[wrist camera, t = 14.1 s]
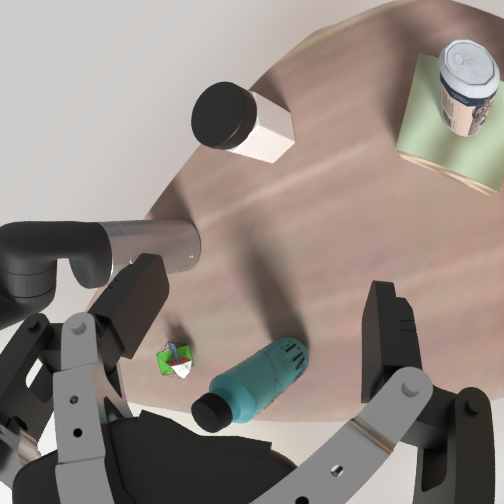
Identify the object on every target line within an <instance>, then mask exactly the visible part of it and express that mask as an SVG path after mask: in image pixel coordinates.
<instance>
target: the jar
mask: <svg viewBox="0 0 504 504" xmlns="http://www.w3.org/2000/svg"><path fill="white" fill-rule="evenodd" d="M191 119H192V120H191V125H192V130H193V133H194V135H195V137H196V139H197V140H198V141H199V142H200V143H201V144H203V145H205V146H208V147H210V148H214V149H216V148H217V149H221V150H227V151H230V152H233V153H237V154H240V155H244V156H248V157H251V158H255V159H259V160H262V161H266V162H269V163H274V162H275V161H276V160H277V159H278V158H279V157H280V156H281V155H282V154H283V153H284V152H285V151H287V150H288V149H289V148H290V147H291V146H292V145H293V144H294V143H295V137H294V131H293V124H292V118H291V113H290V112H288V111H286V110H285V109H283V108H281V107H280V106H278V105H276V104H275V103H273V102H271V101H270V100H268V99H266V98H265V97H263V96H261V95H259V94H258V93H256V92H253V91H247V90H245V89H243V88H241V87H239V86H238V85H236V84H234V83H231V82H219V83H216V84H214V85H212V86H210V87H209V88H207V89H206V90H205V91H204V92H203V93H202V94H201V95H200V97H199V98H198V100H197V102H196V104H195V106H194V108H193V112H192V118H191Z"/></svg>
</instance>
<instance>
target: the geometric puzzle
mask: <svg viewBox="0 0 504 504" xmlns="http://www.w3.org/2000/svg"><path fill="white" fill-rule="evenodd" d="M167 342H168V341H167ZM172 343H173V342H172ZM172 343H170V342H168V345H169V349H170V350H169V351H166V352H164V350H163V352H162V351H161V352H162V353H160V352H159V354H158V353H157V354H156V356H157V359H158V363H159V366H160V370H161V373H162V375H165V376H166V375H167V374H166V373H170V372H173V371H175V372H176V373H174V374H177V375H179V376H180V377H182V378H183V379H184V378H185V376H186V375H187V374H188V373H189V372H190V369H191V366H192V367H193V365H194V364H193V360H192V356H191V352H190V348H189V344H188V345H187V346H183V347H180V348H175V346H176V345H175V344H172ZM178 344H180V343H178ZM166 345H167V344H166ZM185 345H186V344H185ZM165 347H166V346H165ZM176 347H177V346H176ZM161 349H162V348H161ZM161 349H160V350H161ZM167 349H168V348H167ZM165 350H166V349H165ZM171 377H172V376H171ZM177 378H178V377H177Z"/></svg>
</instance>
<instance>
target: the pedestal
mask: <svg viewBox="0 0 504 504" xmlns="http://www.w3.org/2000/svg"><path fill="white" fill-rule="evenodd" d="M395 148H396V149H397V151H398V153H399V155H400V156H401V158H402V159H404V160H407V161H410V162H412V163H415V164H418V165H420V166H423V167H425V168H428V169H430V170H433V171H435V172H438V173H440V174H443V175H445V176H447V177H450V178H452V179H454V180H457V181H459V182H461V183H463V184H466V185H468V186H470V187H472V188H474V189H476V190H479V191H481V192H483V193H485V194H487V195H489V196H491V195H494V194H496V193H498V192H500V190H501V186H502V182H503V178H504V82H503V81H501V80H500V81H499V86H498V89H497V92H496V94H495V97H494V100H493V102H492V105H491V107H490V110H489V112H488V115H487V117H486V120H485V122H484V124H483V127H482V128H481V130H480V131H479V132H478V133H477V134H475V135H473V136H469V137H464V136H460V135H457V134H455V133H454V132H452V131H451V130H450V129H449V128H448V127H447V126H446V124H445V123H444V121H443V119H442V116H441V84H440V70H439V58H437V57H434V56H430V55H426V54H423V53H418V58H417V63H416V68H415V72H414V77H413V81H412V86H411V90H410V94H409V99H408V103H407V107H406V111H405V114H404V118H403V122H402V126H401V130H400V133H399V137H398V140H397V144H396V147H395Z"/></svg>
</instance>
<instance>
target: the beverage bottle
mask: <svg viewBox="0 0 504 504" xmlns="http://www.w3.org/2000/svg"><path fill="white" fill-rule="evenodd" d="M308 362H309V356H308V352H307V350H306V348H305V346H304V345H303V344H302V343H301V342H300V341H299V340H297V339H295V338H292V337H281V338H279V339H277V340H275V341H274V342H272V343H271V344H269V345H267V346H266V347H264V348H263V349H261V350H258V352H257V353H255V354H254V355H252V356H251V357H249V358H248V359H246V360H244V361H243V362H241V363H239V364H238V365H236V366H234V367H233V368H231V369H229V370H228V371H226V372H224V373H222V374H220V375H218V376H216V377H215V378H214V379H213V380H212V381H211V383H210V387H209V393H206V394H204V395H203V396H201V397H200V398H199V399H198V400H197V401H195V402H194V403H193V404H192V407H191V412H192V416H193V418H194V420H195V421H196V423H197V424H198V425H199V426H200V427H201V428H202V429H203V430H205V431H207V432H210V433H215V432H218V431H220V430H221V429H223V428H225V427H227V426H228V425H230V424H231V422H234V423H245V422H248V421H250V420H251V419H252V418H253V417H254V416H255V415H256V414H257V413H259V412H260V411H261V410H262V409H263V408H264V407H265V408H266V407H268V406H267V405H269V403H270V402H272V400H273V401H274V400H275V399H276V397H277V396H279V394H280V393H282V392H283V391H285V389H286V388H287V387H288V386H289V385H290V384H291V385H292V384H293V383H294V382H295V381H296V380H297V379H298V378H299V377H300V376H301V375H302V374H304V373H305V372H304V371H305V370H307V369H306V368H307V365H308ZM293 381H294V382H293ZM292 382H293V383H292ZM289 387H290V386H289ZM287 389H288V388H287Z"/></svg>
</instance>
